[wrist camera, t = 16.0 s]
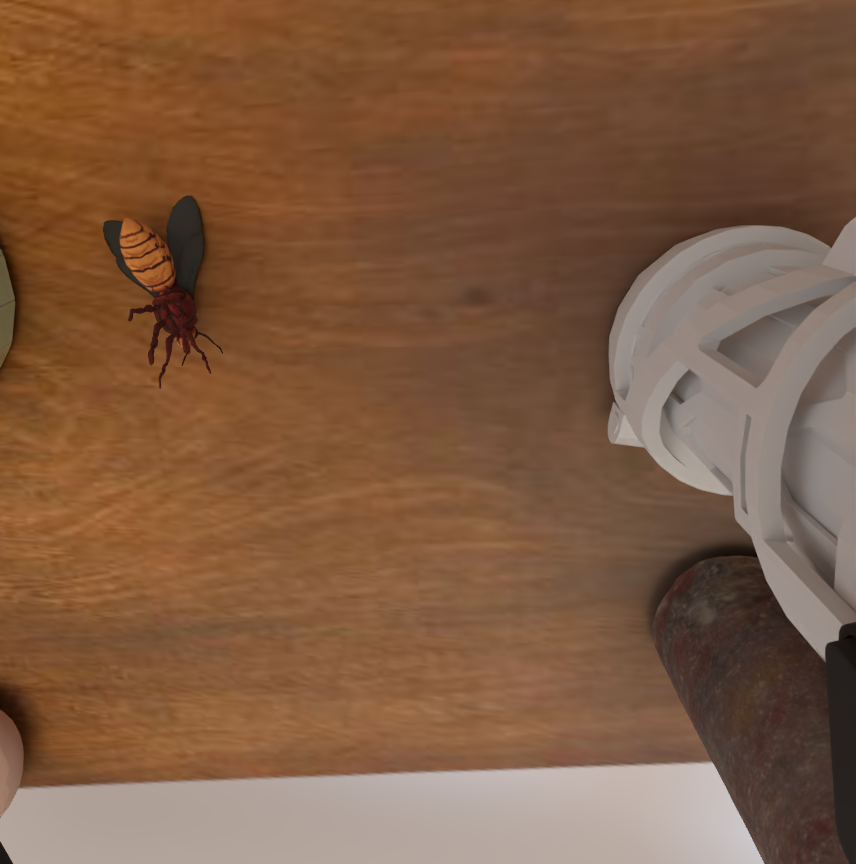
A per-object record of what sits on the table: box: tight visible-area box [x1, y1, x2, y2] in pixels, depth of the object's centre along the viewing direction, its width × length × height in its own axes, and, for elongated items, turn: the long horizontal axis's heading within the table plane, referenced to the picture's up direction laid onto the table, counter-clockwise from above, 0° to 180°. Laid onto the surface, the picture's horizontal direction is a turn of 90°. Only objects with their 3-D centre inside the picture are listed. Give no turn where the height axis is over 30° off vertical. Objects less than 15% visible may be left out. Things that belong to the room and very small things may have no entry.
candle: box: [652, 556, 849, 864], centre depth 30 cm, size 8×7×20 cm
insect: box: [103, 196, 223, 389], centre depth 30 cm, size 4×6×5 cm, turn 16°
